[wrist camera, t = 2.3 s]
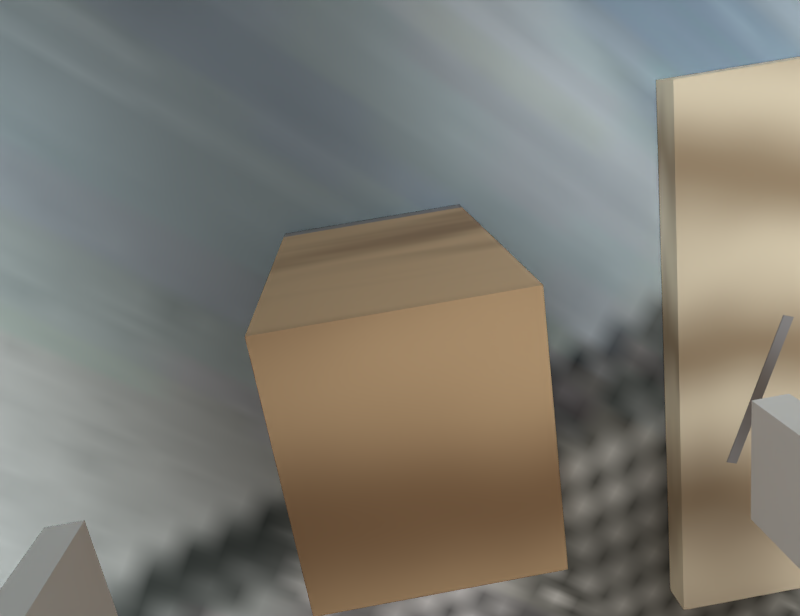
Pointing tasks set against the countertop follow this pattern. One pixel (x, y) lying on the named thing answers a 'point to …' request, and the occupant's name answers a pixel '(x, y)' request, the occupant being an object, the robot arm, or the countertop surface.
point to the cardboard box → (409, 409)
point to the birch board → (726, 313)
